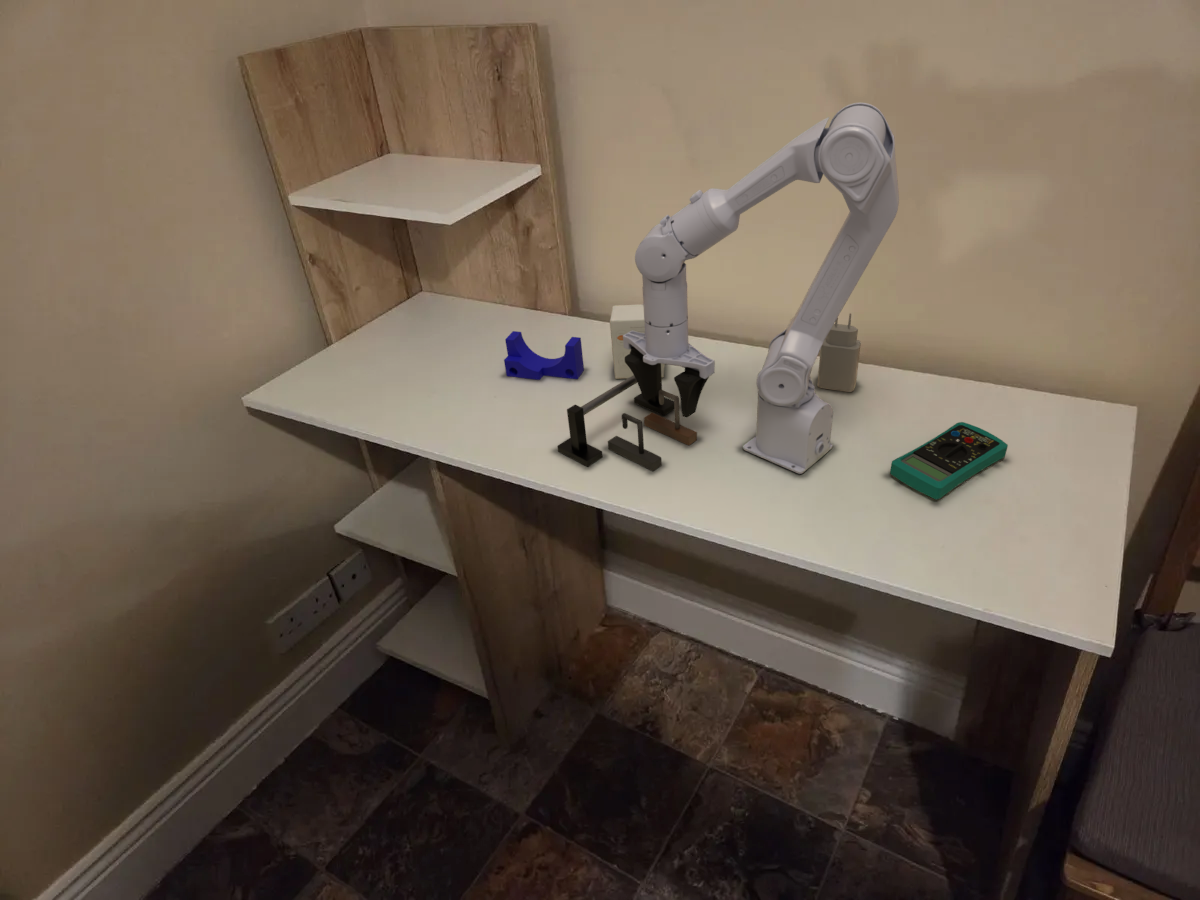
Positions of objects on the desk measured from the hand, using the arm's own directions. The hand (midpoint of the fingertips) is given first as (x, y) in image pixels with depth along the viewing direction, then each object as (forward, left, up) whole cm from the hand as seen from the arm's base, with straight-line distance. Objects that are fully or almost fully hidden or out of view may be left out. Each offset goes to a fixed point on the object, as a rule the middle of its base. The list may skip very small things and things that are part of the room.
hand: (669, 405), depth 113 cm
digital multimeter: (-34, -16, -5) cm, 37 cm away
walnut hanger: (0, 0, -5) cm, 5 cm away
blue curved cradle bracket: (+27, -1, -5) cm, 28 cm away
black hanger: (0, +8, -5) cm, 9 cm away
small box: (+15, -11, -5) cm, 19 cm away
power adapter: (-12, -25, -1) cm, 28 cm away
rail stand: (+6, +4, -5) cm, 9 cm away
